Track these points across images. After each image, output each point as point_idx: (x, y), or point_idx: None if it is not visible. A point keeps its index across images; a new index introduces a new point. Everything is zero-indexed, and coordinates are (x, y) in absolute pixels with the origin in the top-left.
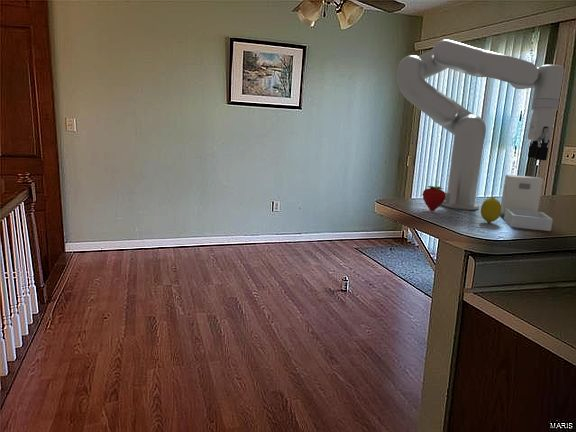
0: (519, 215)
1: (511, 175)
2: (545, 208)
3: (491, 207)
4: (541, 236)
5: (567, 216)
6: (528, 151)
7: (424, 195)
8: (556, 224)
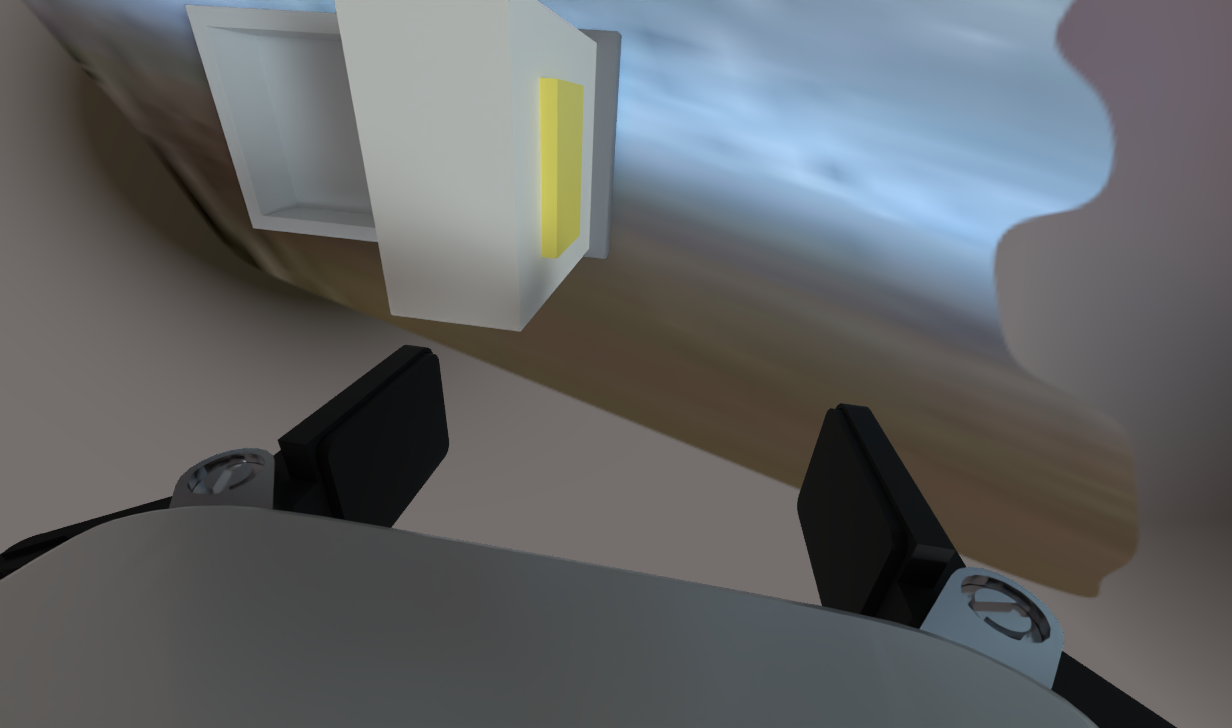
0: (213, 54)
1: (457, 43)
2: (901, 420)
3: None
4: (157, 130)
5: (698, 434)
6: (890, 457)
7: None
8: None
